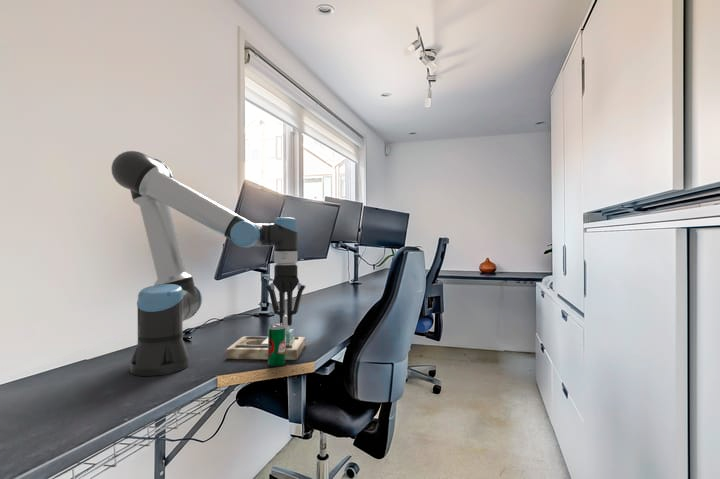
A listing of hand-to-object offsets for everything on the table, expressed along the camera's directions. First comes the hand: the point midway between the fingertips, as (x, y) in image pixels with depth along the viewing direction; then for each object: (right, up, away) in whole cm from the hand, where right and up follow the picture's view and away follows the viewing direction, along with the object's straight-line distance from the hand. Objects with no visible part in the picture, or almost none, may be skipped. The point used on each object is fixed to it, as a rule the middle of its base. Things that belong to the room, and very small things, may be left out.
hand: (285, 335), depth 130 cm
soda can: (0, -6, -13) cm, 14 cm away
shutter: (-2, -2, 0) cm, 4 cm away
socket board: (-6, -6, 0) cm, 8 cm away
